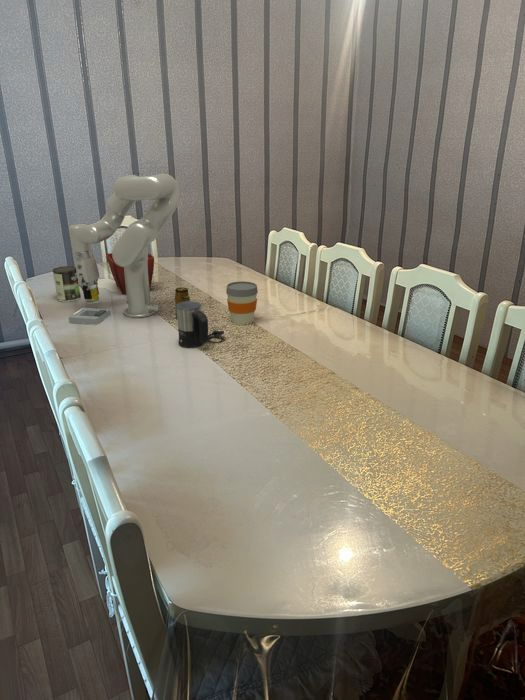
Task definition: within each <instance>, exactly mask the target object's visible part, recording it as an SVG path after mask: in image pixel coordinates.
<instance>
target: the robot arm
mask: <svg viewBox="0 0 525 700" xmlns="http://www.w3.org/2000/svg"><path fill="white" fill-rule="evenodd" d="M137 201H153V202H152V203H151V205H150V206H149V208H148V209H147V211H146V212H145V214H144V215H143V216H142V217H140V218H139V219H138V220H136V221H134V222H132V223H130V224H129V225H128V226H127V228H126V229H125V231H123V233H122V234H121V236H120V238H119V239H118V240H117V242H116V244H115V245H114V247H113V249H112V252H111V253H112V257H113V260H114V262H115V263H116V264H117V265H118V266H121V267H124V275H125V285H126V294H125V295H126V302H127V308H126V309H125V310H124V315H125V316H127V317H128V318H135V319H137V318H145V317H149V316H152V315H154V314H155V313H156V312H160V309H161V308H160V305H158V304H154V301H152V300H151V295H150V294H151V293H150V290H149V280H148V253H149V249H148V245H149V244H151V243H153V242H155V240H157V238H158V236H159V235H160V234H161V233H162V230H163V229H164V227H166V224H167V223H168V222H169V220H170V218H171V217H172V216H173V214H174V213H175V211H176V210H177V207H178V205H179V202H180V187H179V185H178V182H177V181H176V179H175V178H174V177H173V176H172V175H170V174H167V173H157V174H154V175H146V176H138V175H136V174H129V175H124V176H119V178H117V179H116V180H115V181H114V185H113V193H112V194H111V195H110V196H109V198H108V199H107V200H106V205H107V208H108V209H107V211H106V213H105V214H104V215H103V217H102V218H100V220H99V221H97V222H94V223H92V224H88V225H87V224H85V223H78V224H72V225H70V226H69V227H68V232H69V236H70V242H71V246H72V250H73V251H72V252H73V257H74V260H75V267H76V271H77V277H78V282H79V283H78V285H79V288H81V290H82V293H83V297H84V300H86V299H92V296H91V291H90V290H89V283H92V282H93V281H94V284H96V286H97V291H98V295H100V291H99V287H98V285H99V284H98V279H99V278H100V273H99V268H98V264H97V261H96V258H95V256H94V252H93V246H92V245H95V244H98V243H101V242H103V241H107V240H108V239H110V238H111V237H112V236H113V235H114V234H115V232H116V231H118V230H119V228H120V226H121V225H122V224H123V221H124V219H125V218H126V215H127V214H128V213H129V212H130V210H131V209H132V207H133V206H134V205H135V204H136V203H137ZM84 281H85V282H86V283H84ZM85 284H86V286H87V287H86V286H85Z"/></svg>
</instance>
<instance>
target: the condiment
mask: <svg viewBox="0 0 525 700" xmlns="http://www.w3.org/2000/svg"><path fill="white" fill-rule="evenodd" d="M174 294H175V295H174V306H175V307H174V308H175V309H174V310H175V314H174V315H173V314H172V315H171V317H173V319H174V318H175V319H177V308H176V305H177V304H178V303H181V302H187V301H191V300H190V299H191V298H190V295H189V288H187V287H176V288H175V293H174Z"/></svg>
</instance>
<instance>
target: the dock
mask: <svg viewBox="0 0 525 700" xmlns="http://www.w3.org/2000/svg"><path fill="white" fill-rule="evenodd" d="M87 315H88V316H87ZM108 316H109V317H111V309H110V308H109V309H108V308H95V307H94V308H93V307H82V308H80V309H79V310H78V311H77V310H76V312H74V313H73V314H71V315H70V316H68V323H69V322H72V323H71V324H76V323H85V324H84V325H89V324H98V323H99V324H101V323H102V322H103V321H105V320H106V319H108V318H109V317H108ZM105 318H106V319H105ZM104 319H105V320H104ZM102 320H103V321H102ZM101 321H102V322H101ZM100 322H101V323H100ZM99 324H98V325H99Z"/></svg>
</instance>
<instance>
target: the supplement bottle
mask: <svg viewBox="0 0 525 700" xmlns="http://www.w3.org/2000/svg"><path fill="white" fill-rule="evenodd" d="M84 283H86V282H85V281H84ZM84 285H85V286H86V284H84ZM97 286H98V285H97ZM97 286H96V284H94V281H93V282H92V283H89V290H90V291H91V296H92V299H85V301H86V302H85V303H86V304H88V305H89V304H92V305H93V304H97V303H99V302H100V297H99V294H98V291H99V290H98V291H97ZM86 287H87V286H86Z"/></svg>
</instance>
